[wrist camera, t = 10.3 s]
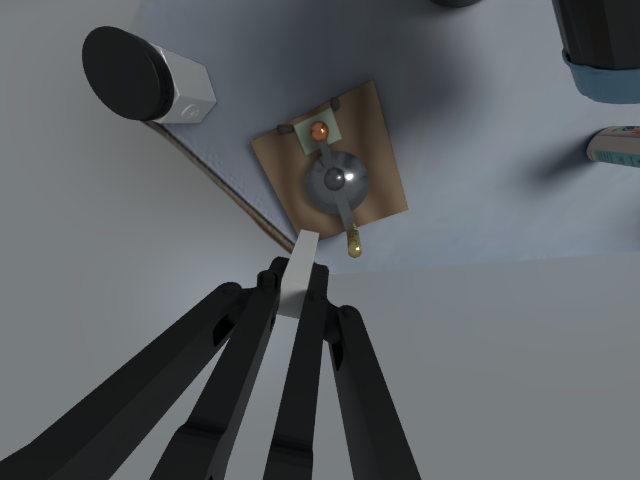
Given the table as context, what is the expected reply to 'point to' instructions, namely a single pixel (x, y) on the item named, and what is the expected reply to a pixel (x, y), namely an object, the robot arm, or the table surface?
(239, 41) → the table surface
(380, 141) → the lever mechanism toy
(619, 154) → the supplement bottle
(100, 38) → the jar
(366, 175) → the grey metal domed piece
